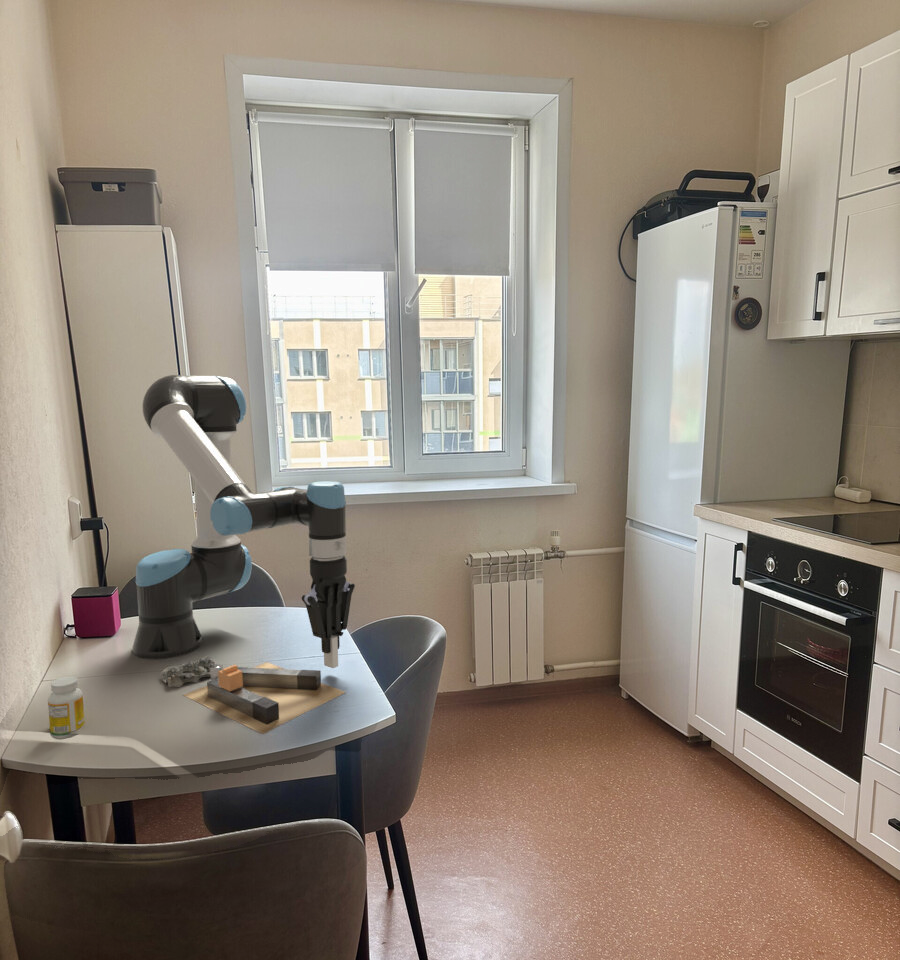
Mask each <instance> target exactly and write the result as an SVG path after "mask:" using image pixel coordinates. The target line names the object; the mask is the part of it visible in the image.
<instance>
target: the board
mask: <svg viewBox="0 0 900 960" xmlns="http://www.w3.org/2000/svg"><path fill="white" fill-rule="evenodd" d="M252 668H267V669H285V668H284V667H281V666H279V665H275V664H272V663H270V662H267V661H265V662H264V663H261V664H258V665H256V666H253V667H252ZM241 688H244V689H246V690H248V691H250V692H253V693H255V694H257V695H260V696H262V697H266V698H269V699H271V700H273V701H276V702H278V704H279V719H278V720H276V721H274V722H272V723H270V724H267V725H266V724H264V723H262V722H260V721H258V720H256V719H254V718H252V717H250V716H248V715H246V714H244V713H242V712H240V711H237V710H235V709H233V708H231V707H229V706H227V705H225V704H223V703H220V702H218V701H216V700H214V699H212V698H210V697H208V690H207V685H205V686H203V687H200V688H197V689H195V690H193V691H190V692H188V693H185V694H183V695H182V696H184V697H186V698H187V699H189V700H192V701H193V702H196V703H198V704H200V705H202V706H205V707H207V709H211V710H213V711H215V712H216V713H219V714H220V715H222V716H224V717H227V718H229V719H230V720H233V721H234V722H237V723H238V724H241V725H243V726H245V727H247V728H249V729H251V730H253V731H255V732H257V733H259V734H262V735H263V734H265V733H268V732H270V731H271V730H273V729H275V728H278V727H280V726H282V725H284V724H286V723H287V722H290V721H292V720H294V719H295V718H298V717H300V716H301V715H303V714H305V713H308V712H309V711H312V710H314V709H316V708H317V707H319V706H322V705H324V704H325V703H327V702H330V701H332V700H333V699H336V698H338V697H339V696H342V695H345V694H346V691H344V690H341V689H339V688H336V687H334V686H330V685H328V684H325V683H322V682H321V685H320V686H319V688H318V689H317V690H306V689H296V688H276V687H257V686H242V687H241Z"/></svg>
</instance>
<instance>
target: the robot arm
mask: <svg viewBox="0 0 900 960" xmlns="http://www.w3.org/2000/svg"><path fill="white" fill-rule="evenodd" d="M246 412H247V401H246V398H245V394H244V392H243V390H242V388H241V387H240V386H239V384H238V382H236V381H235V380H234V379H233V378H230V377H226V376H218V375H180V374H169V375H166V376H163V377H161V378H158V379H157V380H156V381H154V382H153V383H152V384H151V385H150V386H149V387H148V389H147V390H146V392H145V394H144V396H143V400H142V414H143V417H144V421H145V422H146V425H147V427H149V430H151V432H152V433H153V434H154V436H156V437H158V438H160V439H163V440H164V441H165V443H167V445H168V447H170V449H171V450H172V452H173V453H174V455H175V456H176V457H177V458H178V460H179V461H180V462H181V464H182V465H183V466H184V468H185V469H186V471H187V472H188V473H189V474H190V475H191V477H192V478H193V480H194V489H195V507H196V508H195V509H196V512H195V513H196V531H197V536H196V537H195V538H194V540H193V541H191V545H190V546H191V552H190V551H188V550H187V549H183V548H173V549H169V550H168V549H166V550H165V549H164V550H161V551H157V552H154V553H151V554H149V555H147V556H145V557H143V558H142V559H140V560H139V561H138V562H137V564H136V566H135V567H136V568H135V584H136V594H137V595H136V596H137V610H138V611H137V612H138V626H137V631H136V633H135V636H134V640H133V644H132V654H133V656H135V657H137V658H139V659H145V660H164V659H171V658H176V657H180V656H183V655H187V654H189V653H190V654H191V653H192V652H194V651H195V650H198V649H199V648H200V647H201V646H202V645H203V636H202V634H201V632H200V629H199V627H198V624H197V622H196V619H195V618H194V612H193V609H194V608H193V603H194V602H198V601H202V600H205V599H210V598H213V597H218V596H222V595H227V594H230V593H232V592H235V591H238V590H240V589H242V588H243V587H245V585H246V584H247V583H248V582H249V580H250V578H251V574H252V570H253V569H252V567H253V562H252V561H253V560H252V556H251V555H250V551H249V550H248V548H247V547H246V546H245V545H243V544H242V540H241V538H239V536H237V535H245V534H246V533H251V532H256V531H257V532H258V531H261V530H267V529H273V528H278V527H284V526H289V525H300V526H301V525H302V526H307V527H308V551H309V552H308V553H309V556H310V557H311V558H310V559H309V574H310V576H311V580H312V582H311V585H310V589H311V590H309V592H308V593H307V594H303V595H301V601H302V602H303V603H304V605H305V607H306V611H307V615H308V620H309V623H310V629H311V632H312V636H314V637H316V638H319V639H321V640H320V641H321V642H320V643H321V652H322V653H323V665H324V667H328V668H331V669H335V668H337V667H339V649H340V646H341V645H340V637H342V636H343V634H344V632H343V631H345V630H347V627H348V622H349V615H350V608H351V601H352V595H353V592H354V590H355V587H356V585H355V583H352V582H348V581H347V578H346V574H347V571H348V567H347V566H348V565H347V563H348V562H347V561H348V560H347V557H346V556H345V555H346V554H347V539H346V538H347V537H346V535H347V533H346V531H347V530H346V529H347V527H346V503H347V502H346V495H345V487H344V485H343V483H341V482H340V481H328V480H325V481H324V480H322V481H321V480H320V481H314V482H310V483H309V484H308V485H307V489H306V488H305V489H304V488H297V487H294V486H281V487H277V488H275V489H274V490H272V491H266V492H265V491H264V492H257V493H253V492H252V490H251V489H250V487H248V485H246V483H245V482H244V480H243V479H242V478H241V477H240V476H239V474H238V473H237V472H236V471H235V469H234V468H233V467H232V444H231V443H232V441H231V440H232V439H231V438H232V437H233V436H234V435H235V434H237V432H238V431H237V425H239V424H240V423H241V422H242V421H244V419H245V415H246Z"/></svg>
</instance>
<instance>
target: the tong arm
mask: <svg viewBox="0 0 900 960" xmlns="http://www.w3.org/2000/svg"><path fill="white" fill-rule="evenodd" d="M238 670H240V671H242V679H243V686H257V687H276V688H296V689H306V690H317V689H318V688H319V686H320V685H321V683H322V675H321V674H322V670H317V669H316V670H313V669H285V668H284V669H267V668H253V667H243V666H238Z"/></svg>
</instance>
